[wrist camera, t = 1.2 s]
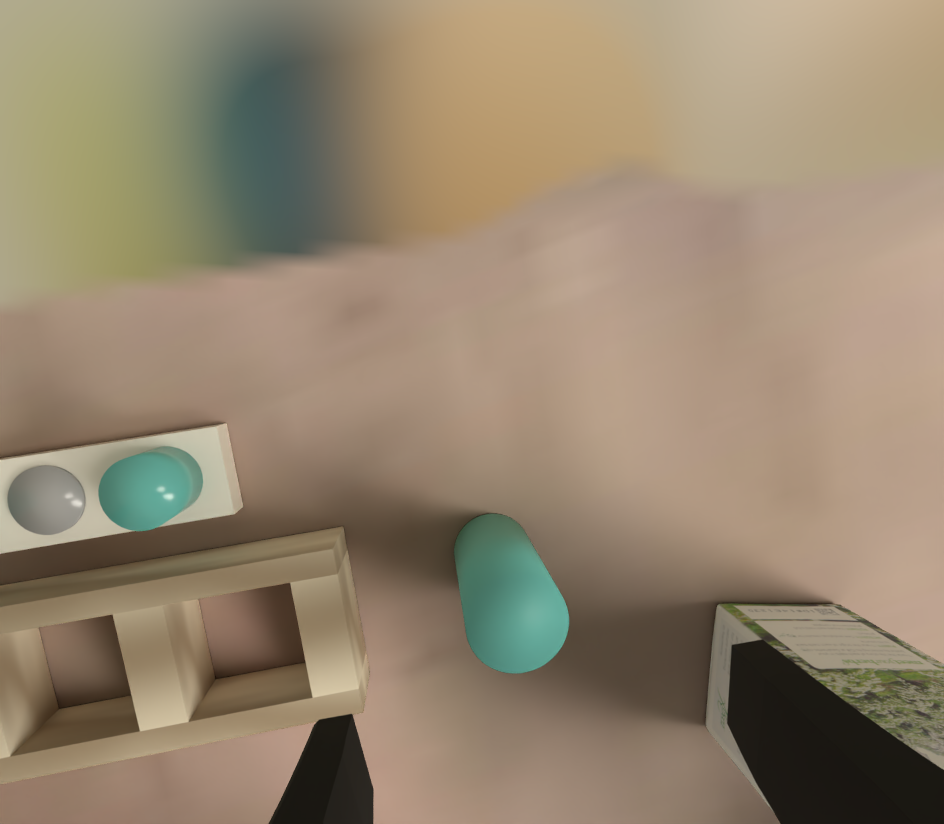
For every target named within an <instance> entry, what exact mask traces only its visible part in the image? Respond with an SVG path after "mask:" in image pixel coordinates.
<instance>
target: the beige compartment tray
mask: <svg viewBox="0 0 944 824" xmlns="http://www.w3.org/2000/svg"><path fill="white" fill-rule="evenodd" d="M285 583H290V585H291V590H292V595H293V600H294V605H295V610H296V615H297V621H298V626H299V631H300V636H301V641H302V646H303V651H304V656H305V661H306V662H305V663H300V664H295V665H289V666H284V667H279V668H273V669H268V670H263V671H258V672H252V673H247V674H242V675H237V676H231V677H226V678H221V679H215V674H214V670H213V665H212V660H211V656H210V651H209V647H208V642H207V637H206V633H205V628H204V623H203V619H202V614H201V609H200V605H199V600H198V599H201V598H207V597H213V596H218V595H224V594H229V593H235V592H241V591H246V590H252V589H257V588H263V587H269V586H274V585H280V584H285ZM112 614H113V618H114V623H115V627H116V631H117V635H118V640H119V644H120V648H121V653H122V657H123V661H124V665H125V670H126V674H127V678H128V682H129V687H130V691H131V696H126V697H121V698H115V699H110V700H105V701H100V702H94V703H89V704H84V705H78V706H73V707H68V708H63V709H59V707H58V703H57V699H56V695H55V691H54V687H53V683H52V679H51V676H50V672H49V668H48V664H47V660H46V656H45V652H44V648H43V644H42V640H41V636H40V632H39V627H45V626H50V625H56V624H62V623H67V622H73V621H78V620H84V619H90V618H95V617H101V616H106V615H112ZM369 675H370V670H369V664H368V659H367V653H366V648H365V642H364V637H363V631H362V626H361V620H360V615H359V610H358V604H357V599H356V593H355V588H354V582H353V577H352V571H351V566H350V560H349V555H348V549H347V544H346V538H345V533H344V527H337V528H331V529H325V530H319V531H314V532H308V533H302V534H296V535H291V536H285V537H279V538H273V539H267V540H262V541H256V542H250V543H244V544H238V545H233V546H227V547H221V548H215V549H209V550H204V551H198V552H192V553H186V554H180V555H175V556H169V557H163V558H157V559H151V560H146V561H140V562H134V563H128V564H122V565H117V566H111V567H105V568H99V569H93V570H88V571H82V572H76V573H70V574H64V575H59V576H53V577H47V578H41V579H35V580H30V581H24V582H18V583H12V584H6V585H1V586H0V784H5V783H10V782H16V781H21V780H26V779H31V778H36V777H41V776H46V775H51V774H56V773H61V772H66V771H71V770H76V769H81V768H86V767H91V766H96V765H101V764H106V763H111V762H117V761H122V760H127V759H132V758H137V757H142V756H147V755H152V754H157V753H162V752H167V751H172V750H177V749H182V748H187V747H192V746H197V745H202V744H207V743H213V742H218V741H223V740H228V739H233V738H238V737H243V736H248V735H253V734H258V733H263V732H268V731H273V730H278V729H283V728H288V727H293V726H298V725H303V724H308V723H314V722H317V721H318V720H319V719H325V718H330V717H336V716H341V715H347V714H352V715H354V714H359V713H363V711H364V705H365V699H366V693H367V687H368V681H369Z"/></svg>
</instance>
